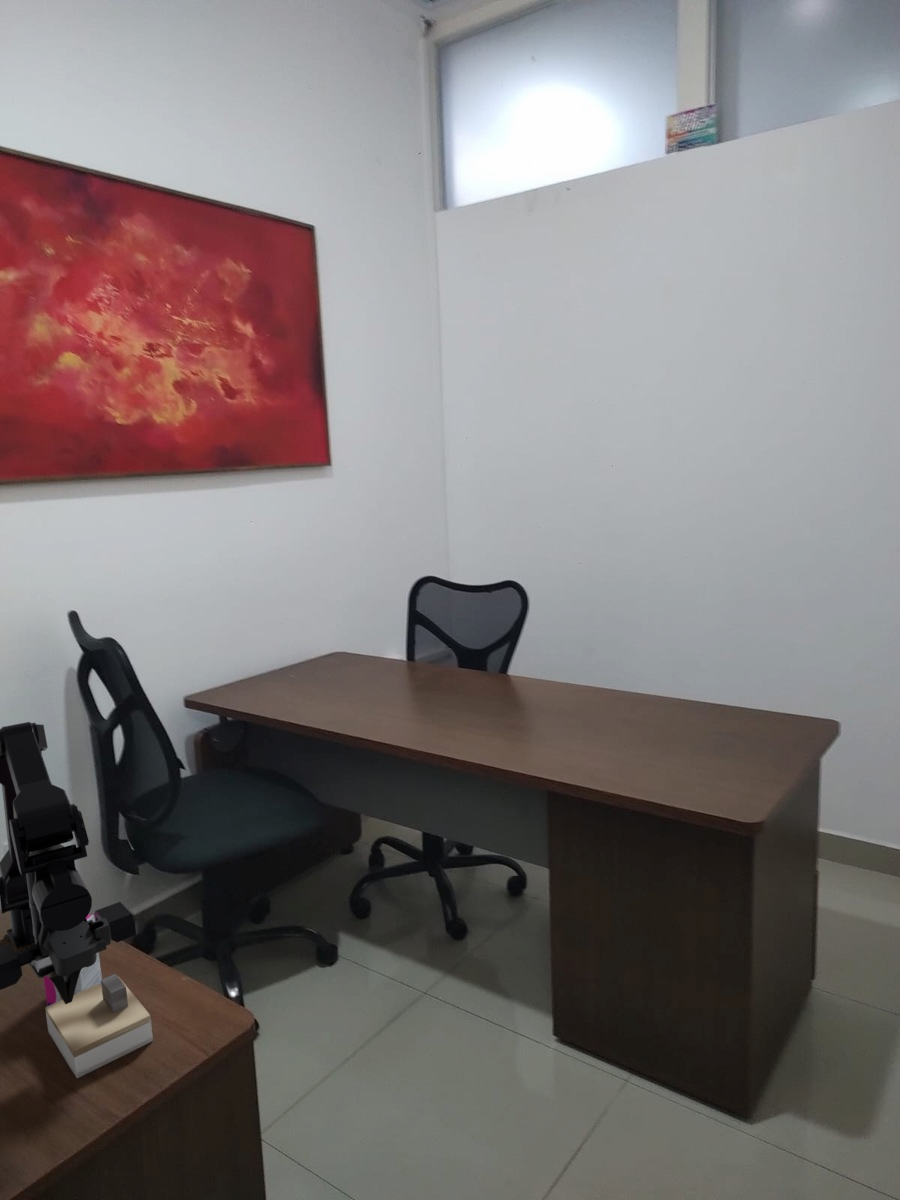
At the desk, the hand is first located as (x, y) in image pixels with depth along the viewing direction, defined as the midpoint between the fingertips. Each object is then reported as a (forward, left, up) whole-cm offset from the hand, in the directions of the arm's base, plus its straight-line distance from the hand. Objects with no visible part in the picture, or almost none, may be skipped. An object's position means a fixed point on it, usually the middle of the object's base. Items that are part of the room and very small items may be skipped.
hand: (67, 1001), depth 111 cm
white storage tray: (0, +3, -7) cm, 8 cm away
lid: (0, +3, -4) cm, 5 cm away
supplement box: (-12, +4, -7) cm, 15 cm away
